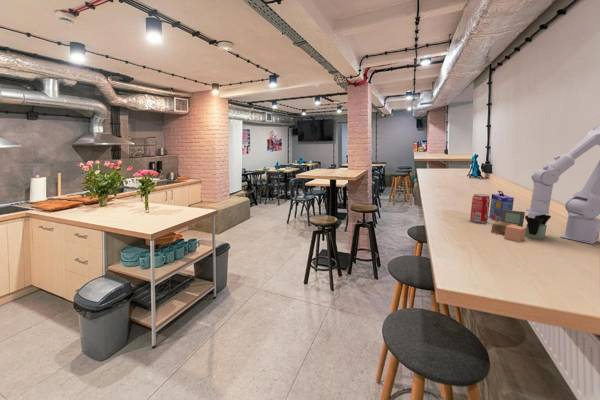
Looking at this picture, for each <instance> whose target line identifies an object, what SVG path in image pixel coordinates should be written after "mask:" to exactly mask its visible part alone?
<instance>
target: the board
mask: <svg viewBox="0 0 600 400" xmlns="http://www.w3.org/2000/svg"><path fill="white" fill-rule="evenodd" d="M525 214H526V211H519V210H504V209H503V211H502V218H501V222H506V223H512V224H517V225H518V226H521V227H524V221H525V216H526V215H525Z"/></svg>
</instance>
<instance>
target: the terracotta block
mask: <svg viewBox="0 0 600 400" xmlns="http://www.w3.org/2000/svg"><path fill="white" fill-rule="evenodd" d="M525 234H526V226H523V227H521V226H516V225H509V226H506V229H505V235H503V236H504V240H505V239H506V240H508V241H513V242H517V243H520V242H522V241H525V239H526V236H525Z"/></svg>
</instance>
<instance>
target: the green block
mask: <svg viewBox="0 0 600 400" xmlns="http://www.w3.org/2000/svg"><path fill="white" fill-rule="evenodd" d="M525 227H526V234H525V237H528V238H533V239H538V240H542V239H544V238H545V237H546V232H547V224H545V225H543V224H540V226H539V228H538V231H537V234H536V235H533V234H529V230H528V223H526V226H525Z"/></svg>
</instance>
